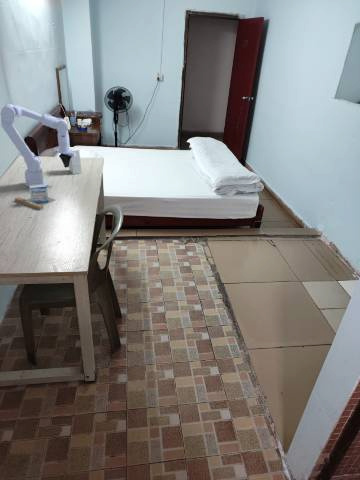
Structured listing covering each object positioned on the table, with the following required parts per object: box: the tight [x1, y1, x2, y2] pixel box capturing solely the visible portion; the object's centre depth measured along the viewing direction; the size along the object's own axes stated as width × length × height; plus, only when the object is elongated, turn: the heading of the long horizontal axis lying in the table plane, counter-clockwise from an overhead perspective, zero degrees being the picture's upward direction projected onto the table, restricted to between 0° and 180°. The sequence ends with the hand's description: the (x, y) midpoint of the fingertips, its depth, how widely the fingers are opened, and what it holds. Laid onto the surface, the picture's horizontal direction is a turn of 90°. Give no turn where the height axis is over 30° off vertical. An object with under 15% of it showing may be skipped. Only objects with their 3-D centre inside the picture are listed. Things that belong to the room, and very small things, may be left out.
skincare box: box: [68, 147, 83, 175], centre depth 208 cm, size 8×6×15 cm
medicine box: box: [28, 183, 49, 204], centre depth 168 cm, size 8×4×9 cm, turn 117°
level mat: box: [14, 196, 56, 211], centre depth 170 cm, size 18×13×2 cm
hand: (66, 167), depth 188 cm, fingers closed
